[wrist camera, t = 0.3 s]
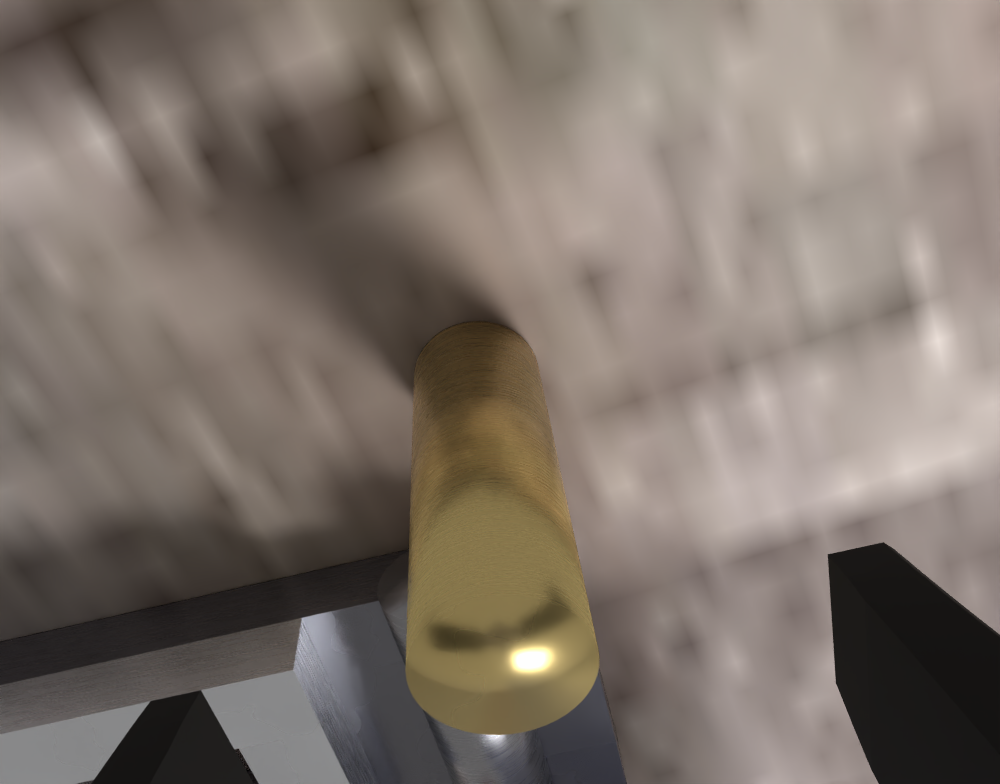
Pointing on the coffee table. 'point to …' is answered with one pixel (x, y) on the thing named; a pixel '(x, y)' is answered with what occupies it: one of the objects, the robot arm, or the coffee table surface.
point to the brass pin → (491, 543)
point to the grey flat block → (349, 676)
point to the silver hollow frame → (179, 670)
